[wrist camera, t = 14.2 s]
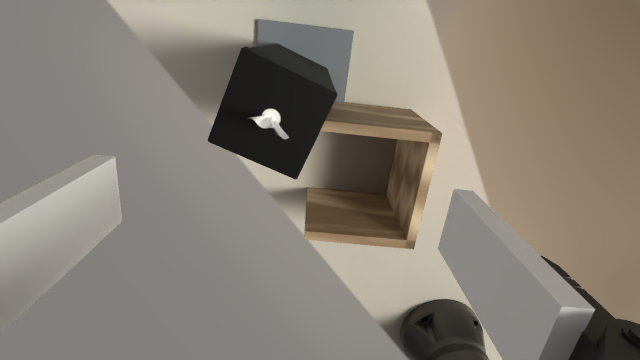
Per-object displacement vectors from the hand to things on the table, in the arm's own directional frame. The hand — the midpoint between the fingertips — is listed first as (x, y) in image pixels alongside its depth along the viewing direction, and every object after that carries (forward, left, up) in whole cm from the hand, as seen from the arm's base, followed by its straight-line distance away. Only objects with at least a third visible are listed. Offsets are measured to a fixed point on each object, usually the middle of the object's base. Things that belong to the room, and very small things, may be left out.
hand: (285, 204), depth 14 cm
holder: (-10, -8, -40) cm, 42 cm away
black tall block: (0, +2, -40) cm, 40 cm away
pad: (+1, +1, -40) cm, 40 cm away
